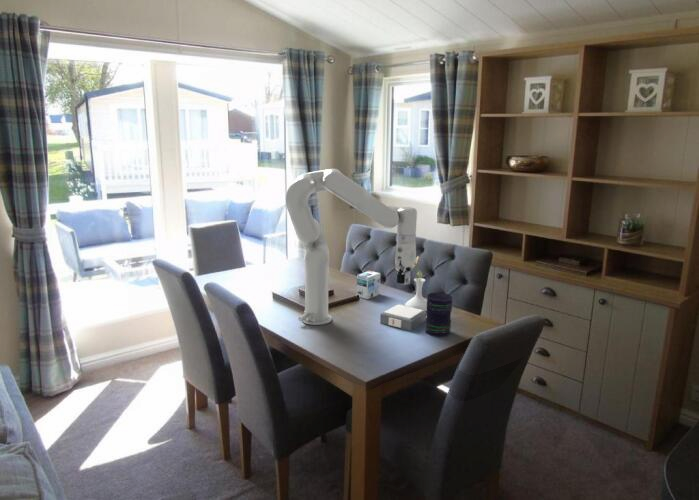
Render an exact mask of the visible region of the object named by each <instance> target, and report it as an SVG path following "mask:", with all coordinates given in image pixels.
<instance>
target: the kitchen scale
mask: <svg viewBox="0 0 699 500" xmlns="http://www.w3.org/2000/svg"><path fill="white" fill-rule="evenodd" d="M379 317H380V318H379V319H380V321H379V322H380V324H382V325H384V326H385V325H387V326H390V327H394V328H397V329H402V330H404V331H405V330H406V331H409V332H411V331H413V330H414V329H416V328H417V327H419V326H420V325H421V324H424V323H426V318H427V311H423V310H421V309H416V308H412V307H408V306H405V305H402V304H396V305H394V306H392V307H391V308H389V309H387V310H385V311H383V312H381V313H380V316H379Z"/></svg>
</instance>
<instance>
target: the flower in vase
mask: <svg viewBox="0 0 699 500" xmlns="http://www.w3.org/2000/svg"><path fill="white" fill-rule="evenodd" d="M419 260H420V256H417V255H416V263H415V264H414V265H413V266H412V270H414V268H415V267H416V269H417V272H416V275H417V277H416V278H414V279H413V280H414V282H415V285H416V292H415V293H416V294H415V296H413V297H412V298H410V299H408V301H406V303H405V305H404V306H408V307H412V308H416V309H421V310H423V311H425V312H427V299H425V298H424V297H423V294H422V293H423V292H422V291H423V290H422V289H423V286H424V285H423V284H424V283H425V282H426V279H425V278H422V277H423V272H422V271H421V270H420V269H419V267H418V262H419Z"/></svg>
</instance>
